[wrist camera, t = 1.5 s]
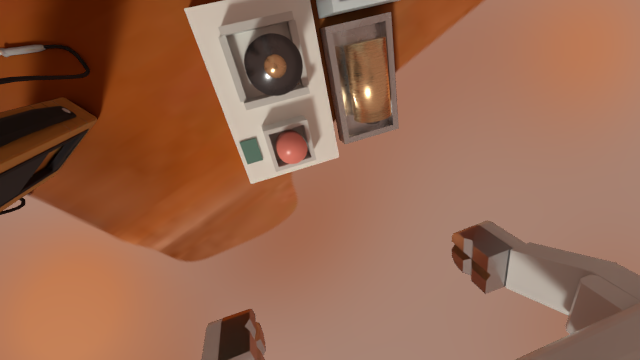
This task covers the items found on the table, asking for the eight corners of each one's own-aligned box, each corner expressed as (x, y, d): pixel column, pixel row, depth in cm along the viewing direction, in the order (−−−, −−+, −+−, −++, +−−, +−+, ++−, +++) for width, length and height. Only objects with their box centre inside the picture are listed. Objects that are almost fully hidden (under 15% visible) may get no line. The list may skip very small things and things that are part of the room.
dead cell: (237, 43, 22) (235, 40, 16) (280, 33, 23) (296, 26, 16) (252, 89, 24) (255, 103, 18) (291, 79, 25) (310, 89, 18)
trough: (319, 28, 25) (324, 27, 23) (381, 14, 26) (390, 11, 24) (339, 139, 30) (344, 144, 29) (390, 124, 31) (398, 128, 30)
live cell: (337, 46, 25) (352, 45, 22) (374, 37, 26) (393, 35, 23) (349, 122, 29) (363, 131, 26) (381, 113, 30) (399, 121, 26)
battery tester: (187, 11, 22) (178, 4, 19) (303, -13, 23) (312, -23, 20) (250, 178, 30) (251, 192, 26) (335, 152, 31) (345, 163, 28)
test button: (271, 134, 25) (273, 140, 24) (299, 126, 26) (303, 131, 24) (279, 160, 27) (282, 167, 25) (306, 152, 27) (310, 159, 25)
